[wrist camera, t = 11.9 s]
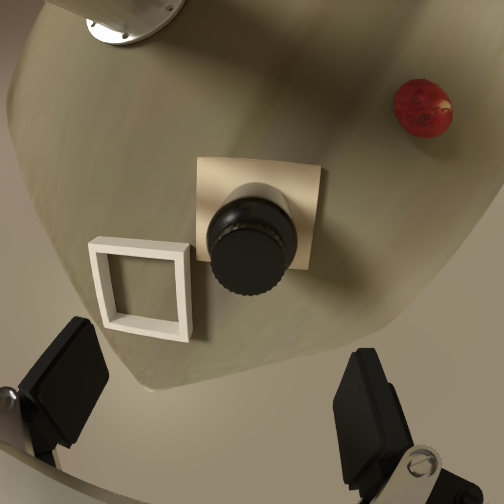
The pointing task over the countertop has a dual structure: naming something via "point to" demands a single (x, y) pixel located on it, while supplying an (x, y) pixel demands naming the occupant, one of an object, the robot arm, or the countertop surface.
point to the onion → (423, 108)
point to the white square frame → (149, 250)
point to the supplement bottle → (252, 239)
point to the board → (264, 171)
